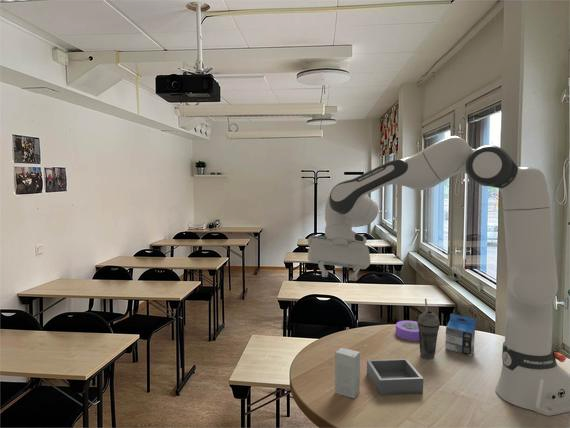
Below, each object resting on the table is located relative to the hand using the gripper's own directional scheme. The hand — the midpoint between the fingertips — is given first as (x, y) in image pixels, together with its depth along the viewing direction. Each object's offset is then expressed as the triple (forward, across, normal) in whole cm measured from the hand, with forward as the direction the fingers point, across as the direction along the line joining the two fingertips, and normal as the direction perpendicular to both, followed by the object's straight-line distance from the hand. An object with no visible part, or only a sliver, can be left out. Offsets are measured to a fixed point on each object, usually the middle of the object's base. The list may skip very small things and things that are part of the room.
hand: (339, 278), depth 127 cm
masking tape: (+7, +40, +33) cm, 52 cm away
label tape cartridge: (+15, +50, +18) cm, 55 cm away
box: (+29, +18, +6) cm, 34 cm away
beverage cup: (+18, +37, +17) cm, 45 cm away
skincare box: (+32, +3, +5) cm, 33 cm away
